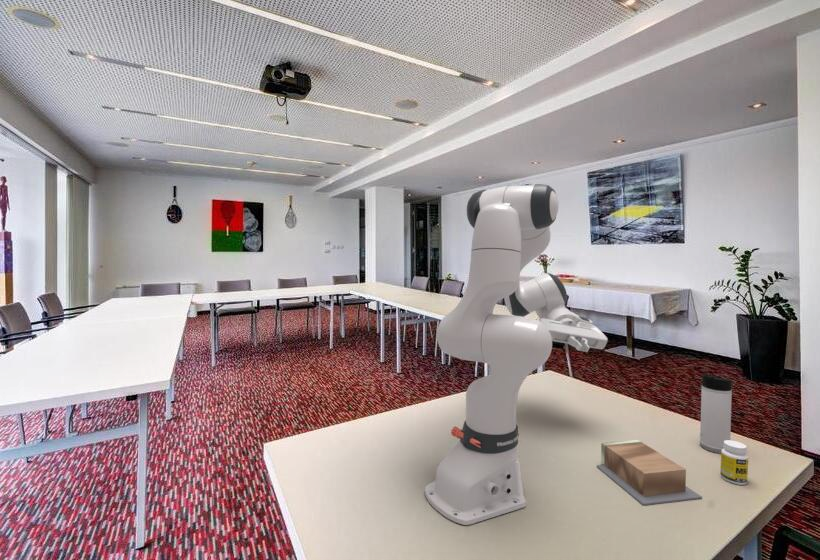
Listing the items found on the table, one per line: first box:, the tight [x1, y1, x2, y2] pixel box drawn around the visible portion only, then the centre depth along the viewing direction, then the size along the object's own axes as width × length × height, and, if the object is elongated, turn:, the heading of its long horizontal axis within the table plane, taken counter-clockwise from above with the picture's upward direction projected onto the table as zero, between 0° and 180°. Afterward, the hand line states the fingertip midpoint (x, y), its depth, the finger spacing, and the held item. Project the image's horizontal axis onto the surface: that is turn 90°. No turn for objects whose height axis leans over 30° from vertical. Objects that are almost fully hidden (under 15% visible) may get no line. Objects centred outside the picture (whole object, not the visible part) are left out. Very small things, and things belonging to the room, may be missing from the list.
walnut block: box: [600, 439, 687, 497], centre depth 88 cm, size 5×10×14 cm
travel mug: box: [699, 373, 733, 455], centre depth 101 cm, size 6×7×20 cm
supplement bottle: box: [719, 439, 749, 486], centre depth 87 cm, size 5×5×8 cm
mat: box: [596, 464, 703, 507], centre depth 86 cm, size 15×14×1 cm
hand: (584, 349), depth 104 cm, fingers closed
